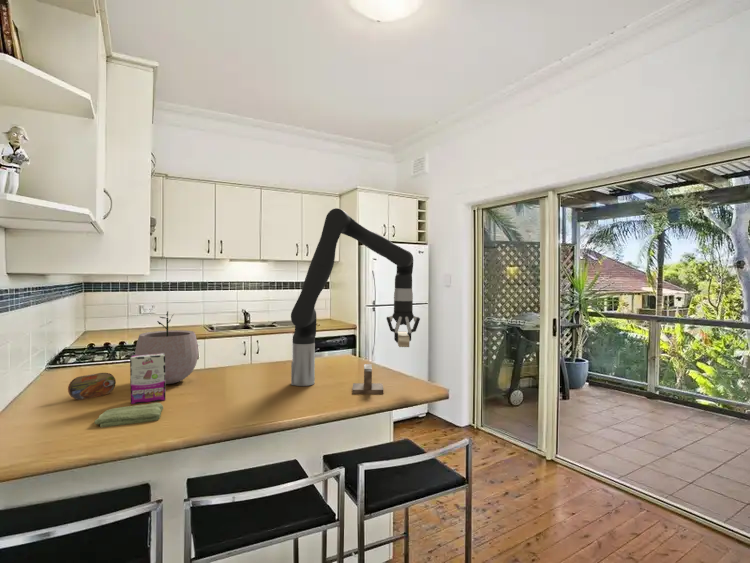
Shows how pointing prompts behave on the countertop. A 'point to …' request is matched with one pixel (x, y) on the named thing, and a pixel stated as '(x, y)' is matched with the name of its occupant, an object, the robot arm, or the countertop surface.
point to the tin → (91, 386)
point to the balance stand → (367, 383)
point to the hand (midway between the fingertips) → (402, 342)
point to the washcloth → (130, 415)
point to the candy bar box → (147, 378)
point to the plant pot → (171, 350)
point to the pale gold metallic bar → (403, 339)
